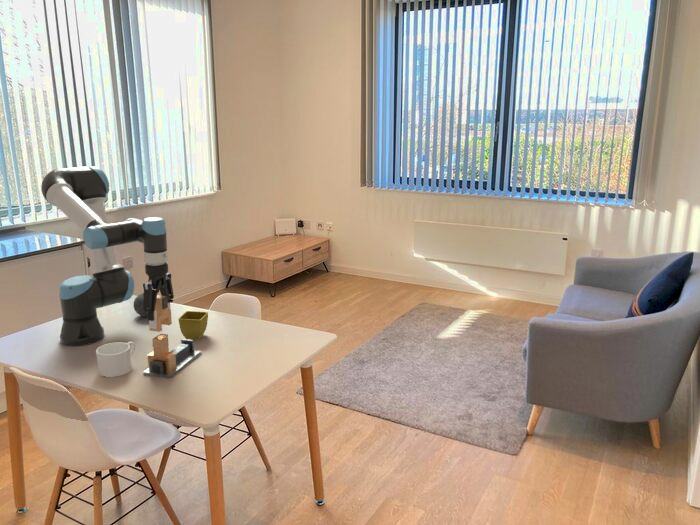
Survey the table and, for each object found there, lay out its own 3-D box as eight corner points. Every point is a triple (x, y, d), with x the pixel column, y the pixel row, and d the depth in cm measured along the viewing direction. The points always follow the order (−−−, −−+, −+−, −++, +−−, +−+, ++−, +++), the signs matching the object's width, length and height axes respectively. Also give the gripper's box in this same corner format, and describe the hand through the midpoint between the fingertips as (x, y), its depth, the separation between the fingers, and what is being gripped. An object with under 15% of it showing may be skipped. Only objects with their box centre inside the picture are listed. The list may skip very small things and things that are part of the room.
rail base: (143, 374, 186) (140, 339, 183) (176, 350, 205) (174, 318, 202) (170, 378, 184) (167, 342, 181) (201, 353, 203) (199, 321, 199)
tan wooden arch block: (161, 322, 206) (160, 292, 203) (173, 324, 205) (171, 294, 202) (149, 330, 199) (147, 299, 196) (160, 332, 198) (158, 301, 195)
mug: (111, 380, 182) (109, 357, 180) (91, 372, 187) (88, 350, 185) (146, 365, 193) (144, 343, 191) (126, 358, 198) (123, 336, 196)
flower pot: (209, 333, 221) (208, 311, 219) (202, 342, 213) (200, 319, 210) (188, 332, 222) (186, 310, 219) (179, 341, 213) (177, 318, 211)
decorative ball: (164, 315, 239) (162, 293, 236) (141, 321, 232) (139, 298, 229) (152, 310, 246) (150, 288, 243) (130, 315, 239) (128, 293, 236)
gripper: (148, 272, 185) (152, 336, 191) (182, 256, 204) (185, 314, 210) (128, 269, 187) (133, 333, 193) (163, 254, 206) (167, 312, 212)
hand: (160, 323), depth 202 cm, fingers closed on tan wooden arch block, 8 cm apart
